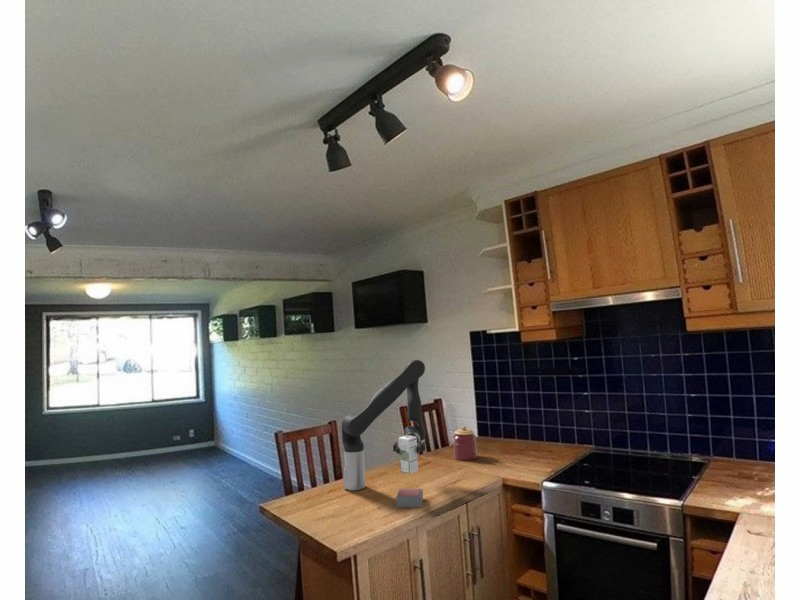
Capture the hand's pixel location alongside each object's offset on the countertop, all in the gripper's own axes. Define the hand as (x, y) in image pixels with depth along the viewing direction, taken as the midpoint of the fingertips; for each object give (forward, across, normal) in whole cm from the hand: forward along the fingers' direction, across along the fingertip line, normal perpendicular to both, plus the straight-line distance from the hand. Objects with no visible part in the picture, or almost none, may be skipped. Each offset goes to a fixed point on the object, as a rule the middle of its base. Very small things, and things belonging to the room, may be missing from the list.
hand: (407, 451), depth 191 cm
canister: (-70, +24, +23) cm, 78 cm away
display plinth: (-2, 0, +22) cm, 22 cm away
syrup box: (-2, 0, +9) cm, 9 cm away
